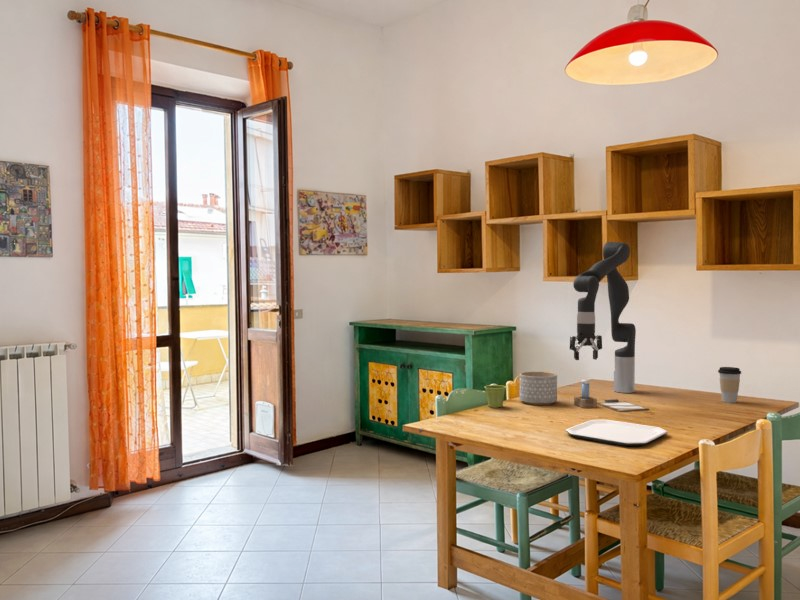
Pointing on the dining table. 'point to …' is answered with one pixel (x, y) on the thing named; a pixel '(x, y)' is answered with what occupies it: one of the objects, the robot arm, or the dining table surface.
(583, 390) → the marker
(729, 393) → the coffee cup
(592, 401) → the pen block
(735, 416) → the dining table surface
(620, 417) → the dining table surface
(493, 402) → the plant pot
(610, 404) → the clipboard
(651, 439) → the plate
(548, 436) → the dining table surface
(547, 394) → the planter
